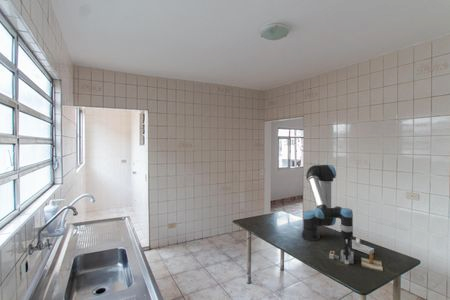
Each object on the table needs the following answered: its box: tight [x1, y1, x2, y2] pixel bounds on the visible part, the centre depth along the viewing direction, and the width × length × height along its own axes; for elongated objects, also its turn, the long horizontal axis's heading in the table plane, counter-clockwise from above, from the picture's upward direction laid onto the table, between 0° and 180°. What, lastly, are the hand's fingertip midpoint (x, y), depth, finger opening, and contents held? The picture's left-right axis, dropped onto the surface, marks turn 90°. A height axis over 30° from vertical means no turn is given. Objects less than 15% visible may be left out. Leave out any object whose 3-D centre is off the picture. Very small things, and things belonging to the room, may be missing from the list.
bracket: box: [351, 237, 375, 255], centre depth 184 cm, size 13×7×8 cm, turn 31°
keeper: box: [360, 253, 384, 272], centre depth 163 cm, size 12×12×7 cm
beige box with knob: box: [328, 250, 336, 260], centre depth 176 cm, size 6×3×4 cm, turn 151°
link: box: [340, 249, 355, 264], centre depth 171 cm, size 8×8×5 cm
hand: (347, 259), depth 171 cm, fingers open, 12 cm apart
